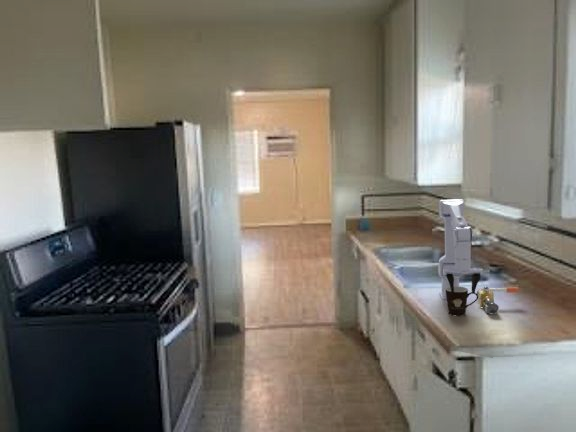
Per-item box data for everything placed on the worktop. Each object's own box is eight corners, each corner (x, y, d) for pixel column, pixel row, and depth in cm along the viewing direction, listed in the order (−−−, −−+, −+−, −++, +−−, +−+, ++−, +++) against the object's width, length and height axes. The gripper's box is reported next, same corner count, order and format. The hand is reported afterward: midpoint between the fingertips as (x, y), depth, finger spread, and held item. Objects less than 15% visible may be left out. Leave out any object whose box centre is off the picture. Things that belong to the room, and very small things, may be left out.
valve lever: (483, 292, 211) (483, 288, 211) (481, 291, 213) (481, 286, 213) (518, 292, 209) (518, 287, 209) (516, 290, 211) (516, 286, 211)
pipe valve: (475, 300, 221) (475, 286, 220) (487, 300, 220) (487, 286, 220) (486, 315, 201) (486, 300, 200) (500, 315, 200) (500, 300, 200)
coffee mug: (442, 314, 205) (441, 290, 203) (450, 308, 211) (449, 285, 210) (471, 319, 198) (471, 294, 196) (478, 313, 204) (478, 288, 203)
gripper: (444, 260, 194) (445, 295, 196) (485, 260, 192) (484, 295, 193) (441, 256, 201) (442, 290, 202) (480, 256, 199) (480, 290, 200)
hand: (462, 292), depth 198 cm, fingers open, 7 cm apart
